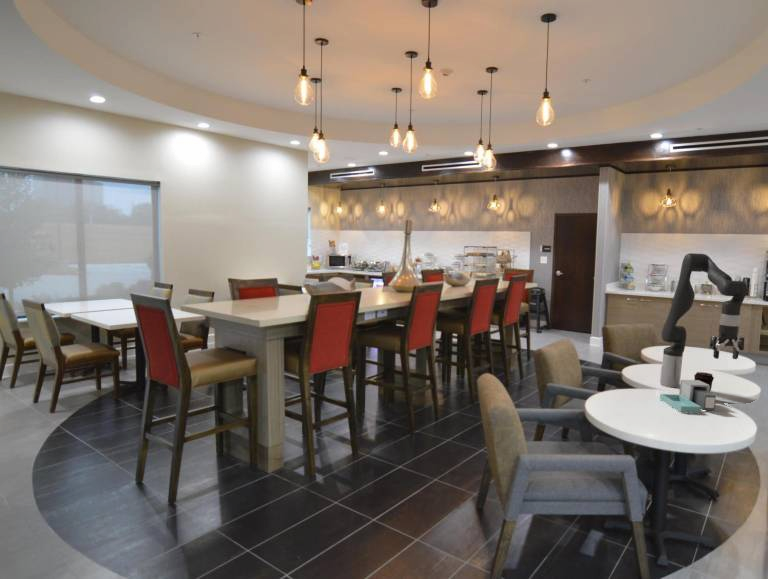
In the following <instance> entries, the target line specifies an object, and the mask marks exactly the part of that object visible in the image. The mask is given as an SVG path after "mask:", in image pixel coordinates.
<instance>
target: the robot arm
mask: <svg viewBox="0 0 768 579" xmlns="http://www.w3.org/2000/svg"><path fill="white" fill-rule="evenodd" d="M692 272H693V273H694V272H696V273H697V272H698V273H700V272H704V273H706V274H707V279H708V281H709V282H711V283H712V284H713V285H714V286H716V287H717V290H718V291H719V294H721V295H723V296H726V297H731V299H730V300H726V301H723V302H722V304H721V313H720V318H719V326H718V335H716V336H715V335H711V337H710V341H709V349H712V350H713V355H712V356H713V358H714V359H717V360H718V359H719V358H720V349H722V348H724V347H731V348H732V349H733V350H732V359H733V360H738V359H739V352H740V351H744V348H745V337H743V336H738V335H739V331H740V324H741V323H740V322H741V319H740V318H741V306H742V305H743V303H744V300H745V297H746V296H747V293H748V290H749V289H748V284H747V283H746V282H745V281H742V280H733V278H732V276H730V274H728V273H726V272H725V271H723V270H722V269H720V267H718V265H717V264H716V263H715V262H714V261H713V260H712V259H711V257H710V256H708V254H705V253H687V254H685V255H684V257H683V259H682V262H681V268H680V273H679V279H678V282H677V285H676V289H675V291H674V295H673V297H672V298H673V299H672V302H671V306H670V310H669V312H668V316H667V317H666V321H665V322H664V324H663V327H662V331H661V339H662V341H664V342H665V343H672V344H671V345H669V346H667V347H664V349H663V351H662V352H663V355H662V364H661V368H660V370H661V371H660V381H659V382H660V385H661V386H664V387H668V388H680V383H681V376H682V375H681V374H682V367H683V366H682V364H683V355H684V352H685V346H686V342H687V330H686V328H685V327H684V325H677V323H678V321H680V319H681V318H683V316H685V315H686V314H687V313H688V312H689V311H690V310H691V309H692V306H693V303H694V301H695V298H696V296H695V295H696V294H695V290H694V288H693V286H692V284H691V275H692Z"/></svg>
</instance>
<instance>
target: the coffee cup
mask: <svg viewBox="0 0 768 579" xmlns="http://www.w3.org/2000/svg"><path fill="white" fill-rule="evenodd" d="M713 375H714V374H712V373H710V372H704V371H702V372H701V371H700V372H698V371H697V372H696V373H695V374H694V380H700V381H702V382H704V383H706V384H708V385H710V391H709V392H710V393H711V390H712V386H713V381H714V379H715V377H714V376H713Z"/></svg>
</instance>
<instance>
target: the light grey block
mask: <svg viewBox="0 0 768 579" xmlns="http://www.w3.org/2000/svg"><path fill="white" fill-rule="evenodd" d="M693 387H700V388H702V389H704V390H706V391H708V392H709V391H710V385H708V384H706V383H704V382H702V381H700V380H695V379H680V387H679V394H678V395H681V396H683V397H684V398H686V399H688V400H690V401H692V397H693ZM710 392H711V391H710Z"/></svg>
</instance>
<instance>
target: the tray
mask: <svg viewBox="0 0 768 579" xmlns="http://www.w3.org/2000/svg"><path fill="white" fill-rule="evenodd" d="M659 394H660V395H659V400H660V399H661V400H662V401H664V402H666V403H667V404H669V405H670V406H672V407H673V408H672V407H671V408H672V409H674V408H675V409H676V411H677V410H678V411H677V412H679V413H680V412H692V413H691V414H702V410H701V406H699V405H697V404H695V403H693V402H692V401H690V400H688V399H686V398H684V397H683V396H681V395H679V394H676V393H675V394H672V393H671V394H670V393H659ZM661 400H660V401H661ZM662 401H661V402H662ZM664 402H663V403H664ZM667 404H666V405H667ZM669 405H668V406H669ZM670 406H669V407H670ZM675 409H674V410H675Z"/></svg>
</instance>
